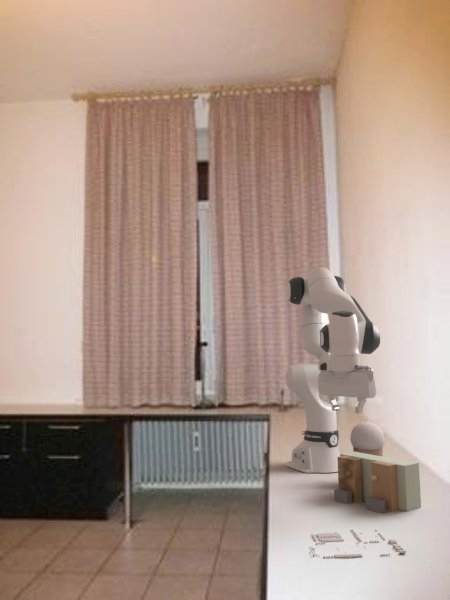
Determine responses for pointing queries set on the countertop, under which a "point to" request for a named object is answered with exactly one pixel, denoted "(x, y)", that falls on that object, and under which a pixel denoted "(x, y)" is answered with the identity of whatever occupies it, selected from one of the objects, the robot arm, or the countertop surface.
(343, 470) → the wooden block with peg
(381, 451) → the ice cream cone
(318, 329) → the robot arm
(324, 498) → the countertop surface
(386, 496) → the cabinet
